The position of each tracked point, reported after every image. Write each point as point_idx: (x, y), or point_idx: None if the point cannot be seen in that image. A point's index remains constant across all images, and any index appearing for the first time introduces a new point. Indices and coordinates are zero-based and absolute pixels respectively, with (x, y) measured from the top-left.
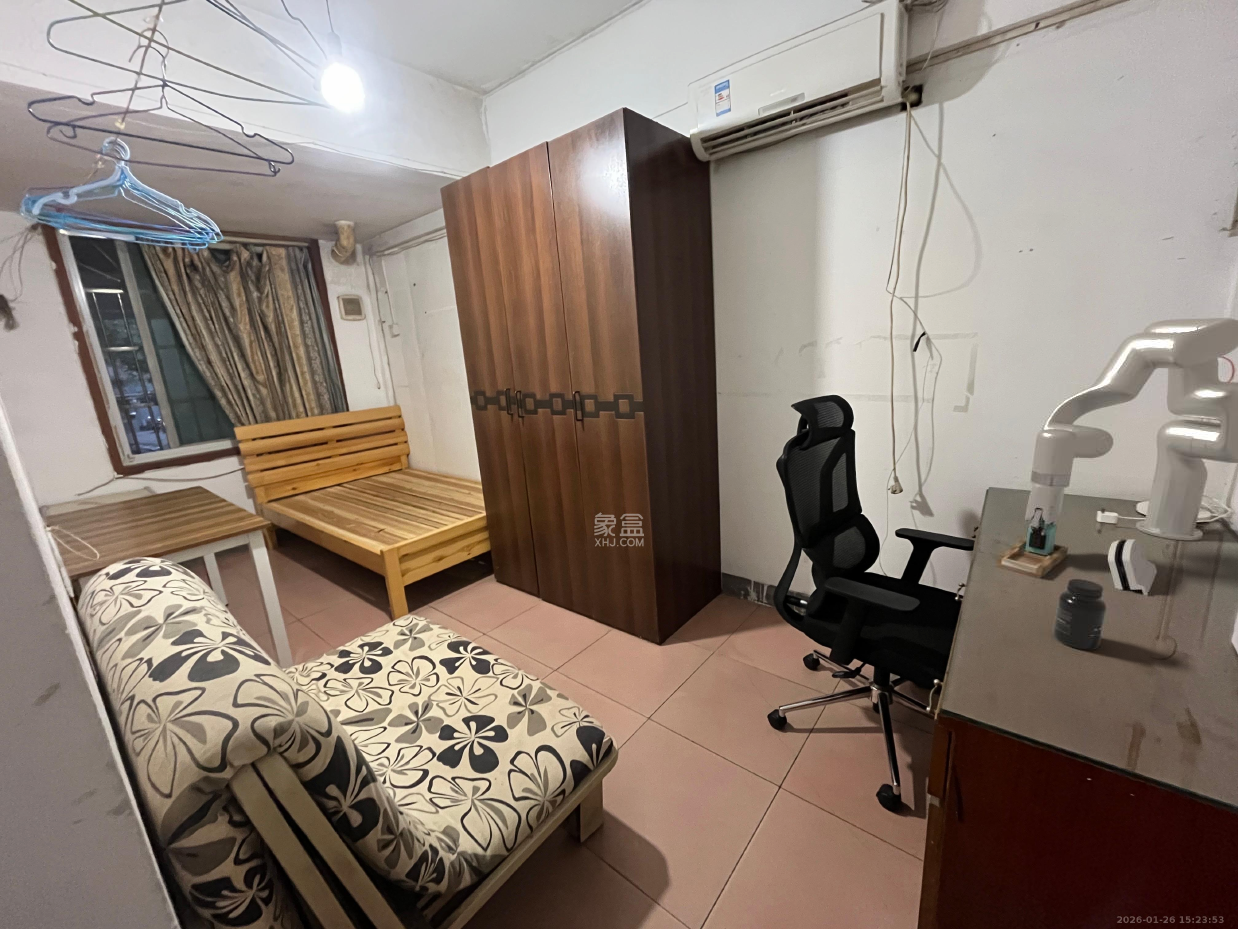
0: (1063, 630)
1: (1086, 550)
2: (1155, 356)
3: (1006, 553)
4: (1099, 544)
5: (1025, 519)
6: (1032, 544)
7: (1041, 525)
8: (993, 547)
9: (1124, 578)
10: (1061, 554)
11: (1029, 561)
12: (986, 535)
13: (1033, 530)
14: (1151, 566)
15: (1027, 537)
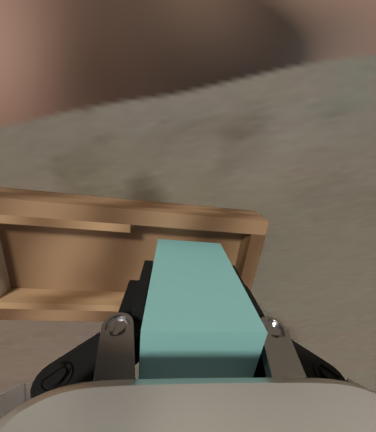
0: None
1: (296, 320)
2: None
3: (29, 209)
4: (350, 329)
5: (4, 418)
6: (130, 281)
7: (187, 373)
8: (171, 132)
9: None
10: None
11: (83, 261)
12: (296, 73)
13: (60, 363)
14: None
15: (152, 270)
